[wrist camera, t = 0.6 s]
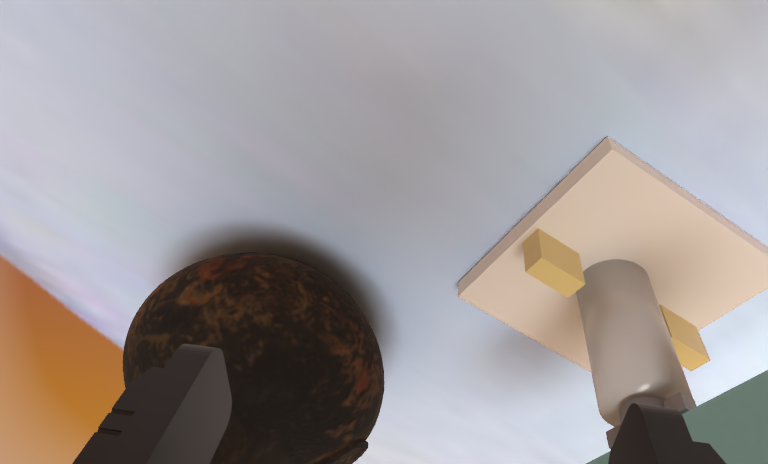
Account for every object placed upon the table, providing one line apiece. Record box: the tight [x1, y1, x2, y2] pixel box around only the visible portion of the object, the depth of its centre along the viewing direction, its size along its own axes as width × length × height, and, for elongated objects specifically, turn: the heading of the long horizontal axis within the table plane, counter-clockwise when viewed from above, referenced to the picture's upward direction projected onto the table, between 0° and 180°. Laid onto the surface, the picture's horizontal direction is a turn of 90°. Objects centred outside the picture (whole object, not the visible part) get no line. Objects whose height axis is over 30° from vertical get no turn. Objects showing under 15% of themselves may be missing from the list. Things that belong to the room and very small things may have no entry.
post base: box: [458, 136, 768, 427], centre depth 31 cm, size 14×14×10 cm
